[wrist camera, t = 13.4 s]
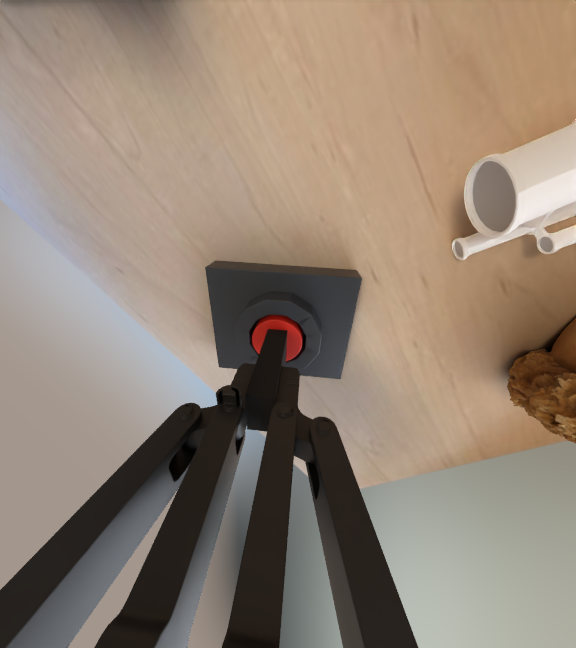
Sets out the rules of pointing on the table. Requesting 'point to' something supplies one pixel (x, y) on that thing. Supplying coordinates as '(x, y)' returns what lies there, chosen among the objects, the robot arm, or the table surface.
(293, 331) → the button
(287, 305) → the button box
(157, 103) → the table surface
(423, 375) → the table surface
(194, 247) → the table surface
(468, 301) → the table surface
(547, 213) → the white telescope
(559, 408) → the stuffed squirrel
